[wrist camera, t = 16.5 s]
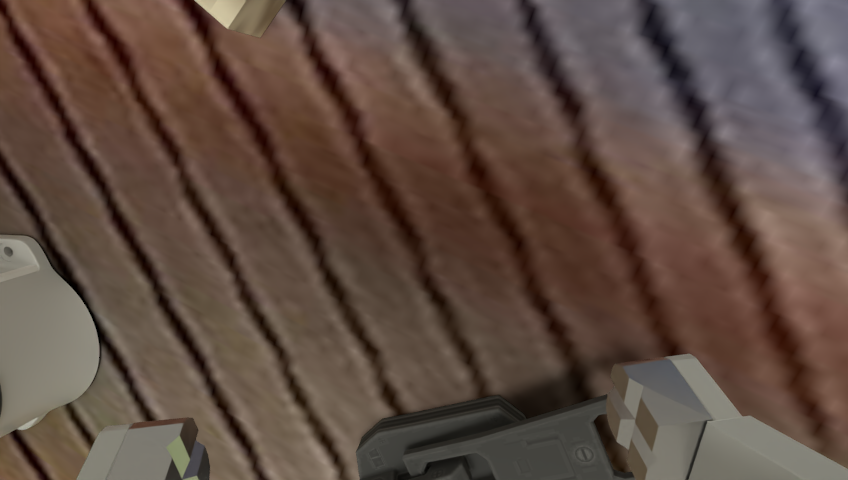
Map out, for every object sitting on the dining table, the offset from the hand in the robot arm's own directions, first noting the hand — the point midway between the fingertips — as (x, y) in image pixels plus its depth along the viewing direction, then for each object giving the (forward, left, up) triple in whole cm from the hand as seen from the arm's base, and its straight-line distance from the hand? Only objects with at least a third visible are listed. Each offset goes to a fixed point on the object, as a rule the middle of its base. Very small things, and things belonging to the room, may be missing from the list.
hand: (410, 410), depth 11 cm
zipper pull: (+6, -20, -31) cm, 38 cm away
